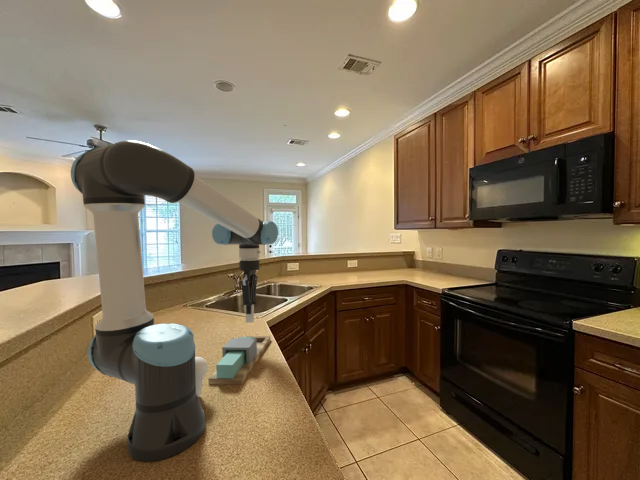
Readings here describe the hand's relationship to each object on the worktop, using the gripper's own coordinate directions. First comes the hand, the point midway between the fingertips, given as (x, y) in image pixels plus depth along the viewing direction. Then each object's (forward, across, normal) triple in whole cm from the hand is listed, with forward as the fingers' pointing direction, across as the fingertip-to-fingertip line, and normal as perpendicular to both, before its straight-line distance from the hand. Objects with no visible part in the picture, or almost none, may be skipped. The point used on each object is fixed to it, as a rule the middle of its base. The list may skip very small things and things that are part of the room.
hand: (249, 321), depth 107 cm
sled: (+9, -15, 0) cm, 17 cm away
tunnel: (+10, -11, 0) cm, 15 cm away
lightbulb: (+12, -31, +5) cm, 34 cm away
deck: (+11, -7, 0) cm, 13 cm away
